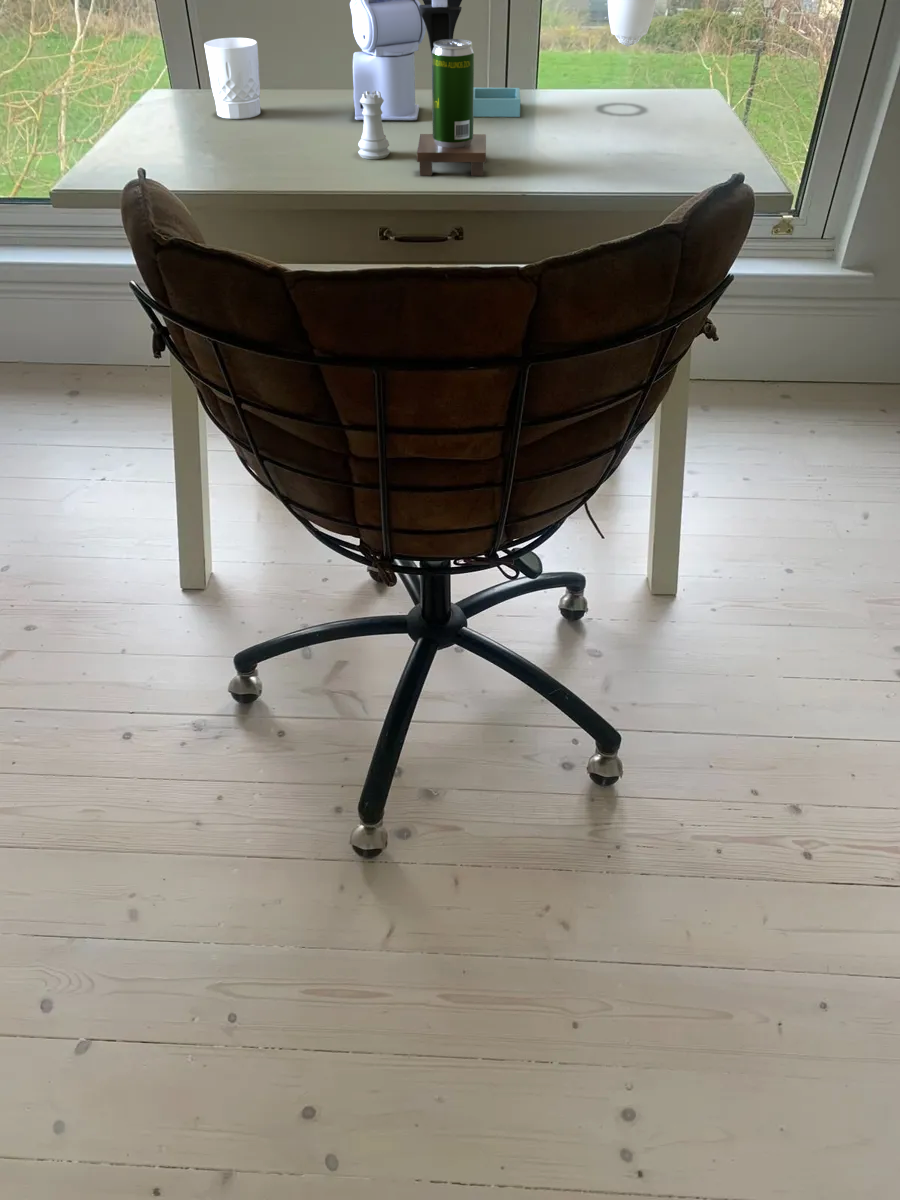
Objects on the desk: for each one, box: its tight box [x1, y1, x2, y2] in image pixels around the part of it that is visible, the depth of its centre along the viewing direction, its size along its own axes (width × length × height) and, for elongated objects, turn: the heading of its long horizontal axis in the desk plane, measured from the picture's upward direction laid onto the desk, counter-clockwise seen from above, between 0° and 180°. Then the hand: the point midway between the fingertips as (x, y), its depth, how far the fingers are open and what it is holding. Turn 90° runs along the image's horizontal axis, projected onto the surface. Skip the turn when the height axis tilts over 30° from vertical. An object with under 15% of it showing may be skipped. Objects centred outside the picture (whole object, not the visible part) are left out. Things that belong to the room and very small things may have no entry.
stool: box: [416, 133, 487, 177], centre depth 141 cm, size 9×9×3 cm
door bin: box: [473, 87, 521, 118], centre depth 165 cm, size 8×8×2 cm
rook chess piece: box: [357, 91, 391, 160], centre depth 144 cm, size 4×4×8 cm
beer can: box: [431, 38, 475, 148], centre depth 137 cm, size 5×5×12 cm
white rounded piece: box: [607, 0, 658, 47], centre depth 160 cm, size 7×7×21 cm
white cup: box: [203, 37, 261, 120], centre depth 161 cm, size 8×8×10 cm
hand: (442, 58), depth 147 cm, fingers open, 7 cm apart
